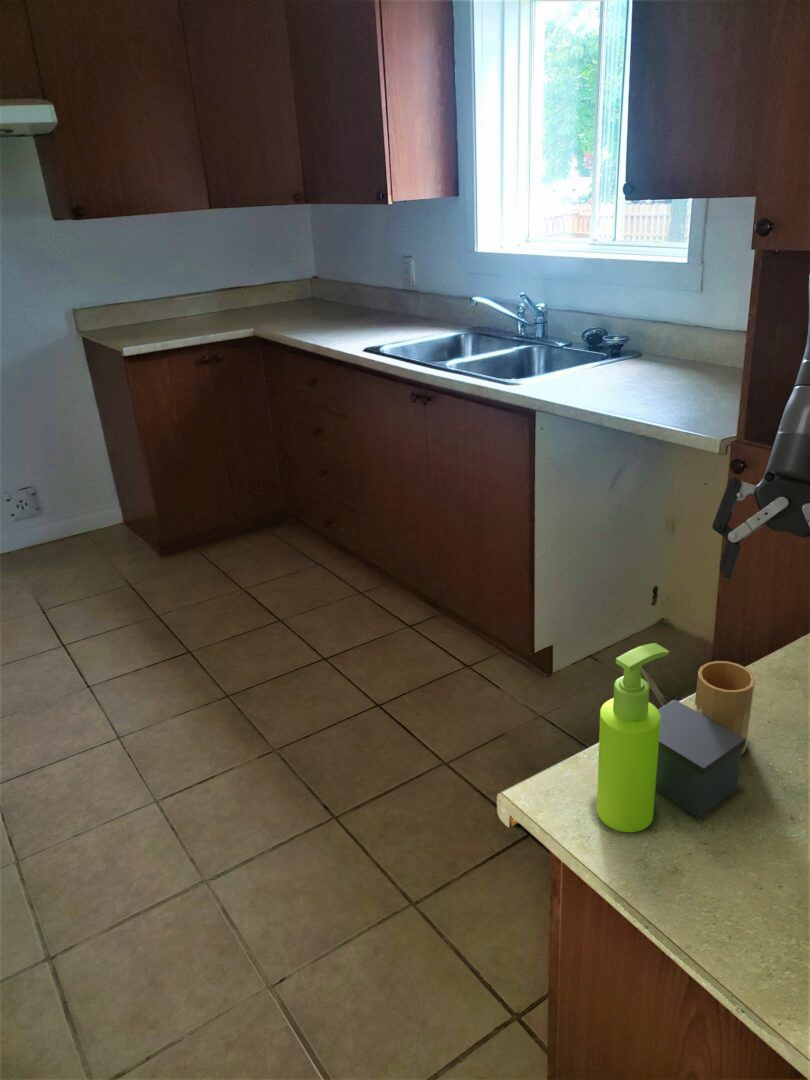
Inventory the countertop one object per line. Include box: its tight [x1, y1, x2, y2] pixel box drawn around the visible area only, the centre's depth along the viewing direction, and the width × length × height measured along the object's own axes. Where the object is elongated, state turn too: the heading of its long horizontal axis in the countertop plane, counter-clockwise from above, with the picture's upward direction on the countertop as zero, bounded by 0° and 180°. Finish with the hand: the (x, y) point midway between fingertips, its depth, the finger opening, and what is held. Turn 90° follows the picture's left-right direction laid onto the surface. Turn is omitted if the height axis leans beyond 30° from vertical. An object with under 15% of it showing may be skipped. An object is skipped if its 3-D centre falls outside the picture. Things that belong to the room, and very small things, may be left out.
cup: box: [693, 660, 756, 756], centre depth 94 cm, size 6×6×10 cm
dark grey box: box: [655, 699, 746, 819], centre depth 90 cm, size 9×7×7 cm
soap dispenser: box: [596, 642, 671, 833], centre depth 84 cm, size 6×7×20 cm
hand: (769, 590), depth 85 cm, fingers open, 8 cm apart
